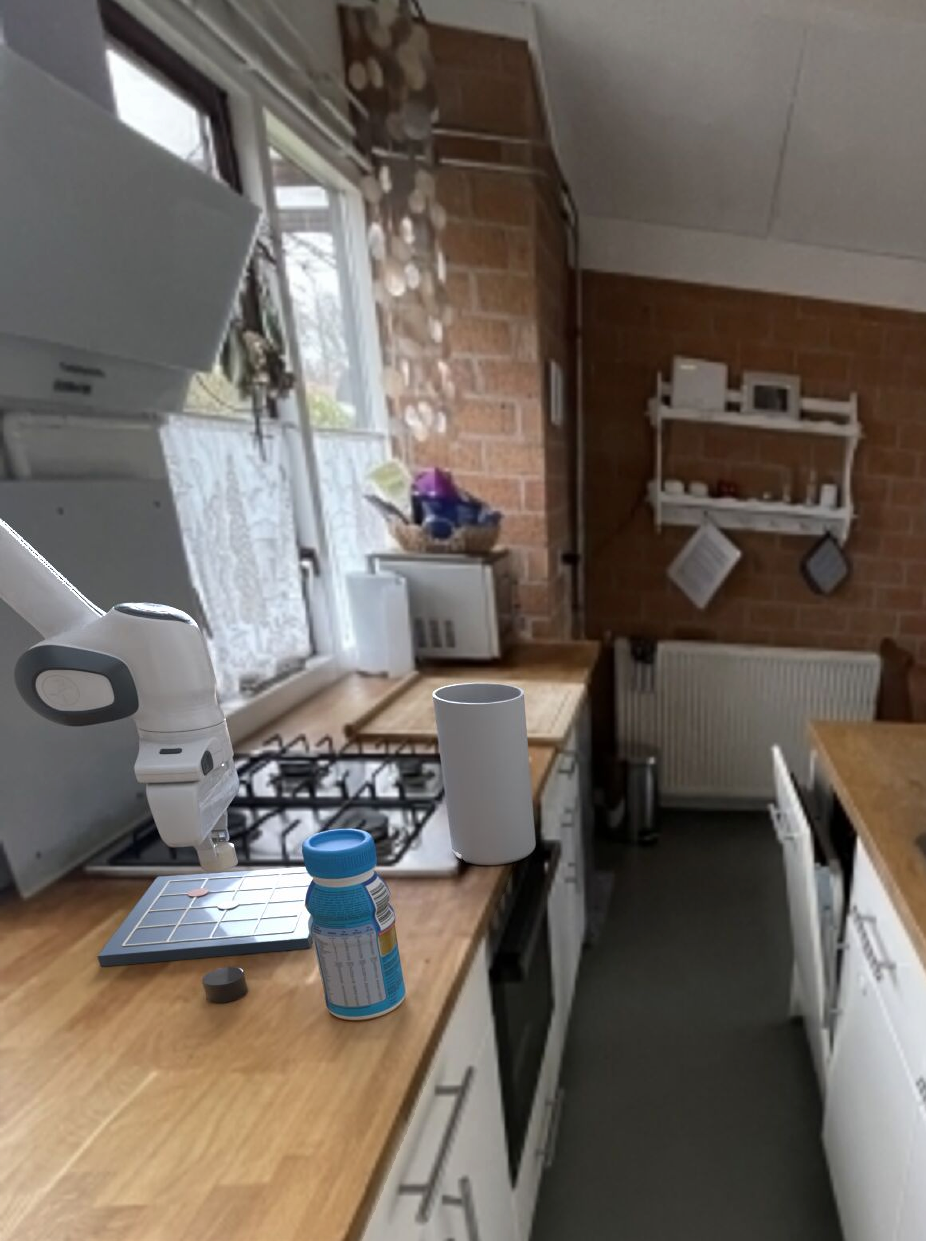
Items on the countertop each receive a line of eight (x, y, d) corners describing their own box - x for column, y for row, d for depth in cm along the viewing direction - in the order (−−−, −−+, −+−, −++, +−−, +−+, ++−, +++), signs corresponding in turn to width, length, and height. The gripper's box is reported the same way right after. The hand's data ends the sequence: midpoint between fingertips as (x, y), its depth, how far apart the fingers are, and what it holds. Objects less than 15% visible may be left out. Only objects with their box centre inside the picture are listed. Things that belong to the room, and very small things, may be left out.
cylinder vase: (510, 872, 132) (494, 708, 121) (435, 860, 134) (413, 697, 123) (550, 841, 143) (539, 688, 132) (480, 830, 145) (464, 679, 134)
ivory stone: (197, 872, 110) (192, 855, 109) (206, 859, 113) (201, 842, 112) (233, 870, 111) (229, 853, 110) (241, 857, 114) (237, 840, 113)
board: (100, 967, 103) (96, 954, 102) (160, 886, 121) (156, 875, 120) (310, 948, 109) (307, 936, 108) (336, 874, 128) (333, 864, 127)
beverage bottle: (344, 1032, 94) (309, 863, 85) (313, 999, 99) (278, 836, 90) (420, 1004, 100) (396, 842, 91) (388, 974, 105) (361, 818, 96)
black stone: (202, 1005, 97) (197, 987, 96) (212, 986, 100) (207, 968, 99) (243, 1001, 98) (238, 983, 97) (251, 982, 102) (247, 964, 101)
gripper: (183, 722, 113) (209, 822, 119) (127, 774, 95) (161, 888, 102) (238, 721, 115) (261, 819, 121) (194, 771, 97) (223, 883, 103)
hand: (215, 851), depth 111 cm, fingers closed on ivory stone, 4 cm apart
